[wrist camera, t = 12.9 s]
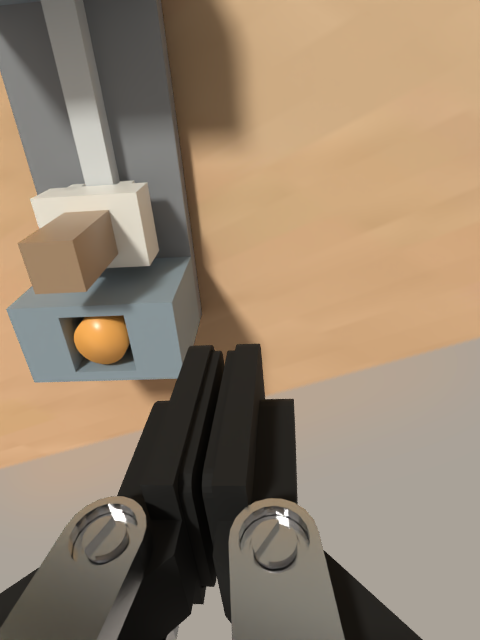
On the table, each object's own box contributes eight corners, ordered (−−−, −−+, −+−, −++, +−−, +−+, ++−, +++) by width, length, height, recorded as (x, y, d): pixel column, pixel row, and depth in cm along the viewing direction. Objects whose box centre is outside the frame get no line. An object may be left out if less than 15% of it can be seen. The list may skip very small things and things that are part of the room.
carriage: (150, 179, 30) (105, 219, 22) (162, 246, 33) (124, 306, 24) (56, 185, 31) (-25, 227, 22) (74, 250, 33) (7, 311, 25)
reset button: (132, 298, 31) (120, 318, 28) (141, 340, 32) (130, 363, 30) (84, 300, 31) (67, 320, 28) (96, 342, 33) (81, 364, 30)
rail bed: (142, -139, 24) (78, -254, 16) (202, 313, 38) (184, 378, 30) (-52, -115, 25) (-209, -210, 17) (76, 318, 39) (26, 382, 31)
